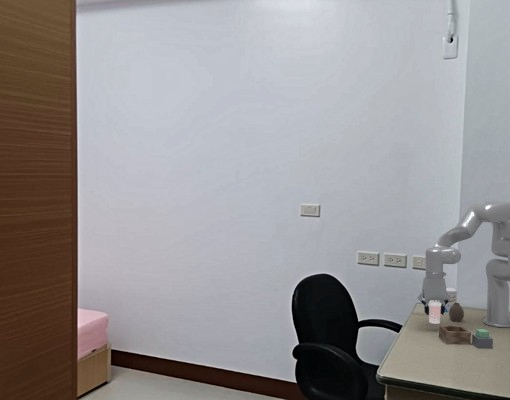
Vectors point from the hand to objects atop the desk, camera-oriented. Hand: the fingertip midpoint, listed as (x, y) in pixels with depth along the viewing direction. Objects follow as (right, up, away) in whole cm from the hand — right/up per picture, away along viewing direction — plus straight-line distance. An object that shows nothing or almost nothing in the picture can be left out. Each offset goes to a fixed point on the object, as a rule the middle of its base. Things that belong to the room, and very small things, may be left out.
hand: (434, 313), depth 229 cm
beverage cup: (0, -4, 0) cm, 4 cm away
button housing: (+13, -9, -20) cm, 25 cm away
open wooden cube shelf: (+4, -8, -13) cm, 16 cm away
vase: (+18, -8, +19) cm, 27 cm away
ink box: (+21, -7, +39) cm, 45 cm away
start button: (+13, -7, -20) cm, 25 cm away
